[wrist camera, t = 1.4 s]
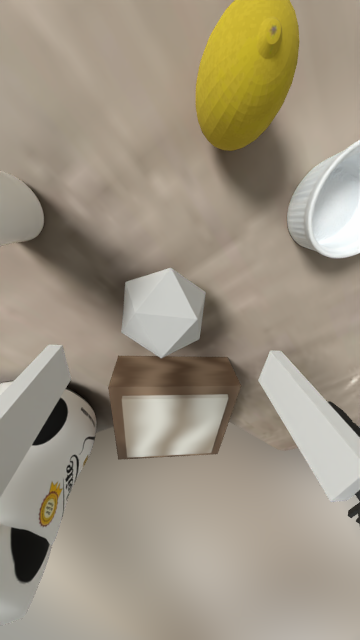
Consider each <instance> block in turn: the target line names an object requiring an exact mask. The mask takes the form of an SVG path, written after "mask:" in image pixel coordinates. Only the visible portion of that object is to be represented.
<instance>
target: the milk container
mask: <svg viewBox="0 0 360 640" xmlns="http://www.w3.org/2000/svg"><path fill="white" fill-rule="evenodd" d="M12 382H13V381H7V382H4V383H1V384H0V395H1V394H2V393H3V392H4V391H5V390H6V389H7V388H8V387H9V386H10V385H11V384H12ZM96 425H97V422H96V416H95V412H94V410H93V408H92V407H91V406H90V404H89V403H88V402H87V401H86V400H85V399H84V398H83V397H81V396H80V395H78V394H77V393H75V392H74V391H72V390H71V389H68V388H66V389H65V390H64V392H63V394H62V395H61V397H60V399H59V400H58V402H57V404H56V405H55V407H54V409H53V410H52V412H51V414H50V415H49V417H48V419H47V420H46V422H45V424H44V425H43V427H42V429H41V430H40V432H39V434H38V435H37V437H36V439H35V440H34V442H33V444H32V445H31V447H30V449H29V450H28V452H27V454H26V455H25V457H24V459H23V460H22V462H21V464H20V465H19V467H18V469H17V470H16V472H15V474H14V475H13V477H12V479H11V480H10V482H9V484H8V485H7V487H6V489H5V490H4V492H3V494H2V495H1V497H0V626H1V625H6V624H9V623H12V622H14V621H17V620H20V619H22V618H23V617H24V616H25V614H26V613H27V611H28V609H29V606H30V604H31V602H32V600H33V598H34V595H35V593H36V590H37V588H38V585H39V583H40V580H41V578H42V575H43V573H44V570H45V567H46V564H47V561H48V559H49V555H50V551H51V546H52V544H53V542H54V541H55V538H56V536H57V533H58V529H59V527H60V523H61V520H62V517H63V513H64V510H65V507H66V504H67V501H68V498H69V495H70V492H71V490H72V487H73V485H74V483H75V481H76V479H77V477H78V476H79V474H80V472H81V470H82V469H83V467H84V465H85V463H86V461H87V459H88V458H89V455H90V453H91V450H92V447H93V444H94V439H95V434H96Z"/></svg>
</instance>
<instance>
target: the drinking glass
mask: <svg viewBox="0 0 360 640" xmlns="http://www.w3.org/2000/svg"><path fill="white" fill-rule="evenodd" d="M43 225H44V214H43V210H42V207H41V204H40V202H39V200H38V198H37V197H36V195H35V194H34V193H33V191H32V190H31V189H30V188H29V187H28V186H27V185H26V184H25V183H24V182H22V181H21V180H20V179H18V178H17V177H15V176H13V175H11V174H9V173H7V172H4V171H1V170H0V247H1V246H5V245H8V244H12V243H17V242H24V241H29V240H31V239H33V238H35V237H36V236H38V235H39V234H40V232H41V230H42V228H43Z"/></svg>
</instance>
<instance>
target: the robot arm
mask: <svg viewBox="0 0 360 640" xmlns="http://www.w3.org/2000/svg"><path fill="white" fill-rule="evenodd" d="M70 380H71V376H70V372H69V368H68V364H67V361H66V357H65V353H64V349H63V346H62V345H48V346H47V347H46V348H45V349H44V350H43V351H42V352H41V353H40V354H39V355H38V356H37V357H36V358H35V359H34V360H33V362H32V363H31V364H30V365H29V366H28V367H27V368H26V369H25V370H24V371H23V372H22V373H21V374H20V375H19V376H18V377H17V378H16V379H15V380H14V381H13V382H12V384H11V385H10V386H9V387H8V388H7V389H6V390H5V391H4V392H3V393H2V394H1V395H0V497H1V495H2V494H3V492H4V490H5V489H6V487H7V485H8V484H9V482H10V480H11V479H12V477H13V475H14V474H15V472H16V470H17V469H18V467H19V465H20V464H21V462H22V460H23V459H24V457H25V455H26V454H27V452H28V450H29V449H30V447H31V445H32V444H33V442H34V440H35V439H36V437H37V435H38V434H39V432H40V430H41V429H42V427H43V425H44V424H45V422H46V420H47V419H48V417H49V415H50V414H51V412H52V410H53V409H54V407H55V405H56V404H57V402H58V400H59V399H60V397H61V395H62V394H63V392H64V390H65V389H66V387H67V385H68V384H69V382H70ZM258 381H259V382H260V384H261V386H262V387H263V389H264V391H265V392H266V394H267V396H268V397H269V399H270V401H271V402H272V404H273V406H274V408H275V409H276V411H277V413H278V414H279V416H280V418H281V419H282V421H283V423H284V424H285V426H286V428H287V429H288V431H289V433H290V434H291V436H292V438H293V440H294V441H295V443H296V445H297V446H298V448H299V450H300V451H301V453H302V455H303V456H304V458H305V460H306V461H307V463H308V465H309V466H310V468H311V470H312V471H313V473H314V475H315V477H316V478H317V480H318V482H319V483H320V485H321V486H322V488H323V490H324V491H325V493H326V495H327V497H328V498H329V500H330V502H335V501H347V500H348V499H350V498H351V497H352V496H354V495H356V496H357V498H358V499H359V501H360V428H359V427H358V426H357V425H356V424H355V423H353V422H352V420H351V419H350V418H349V417H348V416H347V415H346V413H345V412H344V411H343V410H341V409H340V408H339V407H337V406H336V405H335V404H333V403H332V402H327V401H326V400H325V399H324V398H323V397H322V396H321V394H320V393H319V392H318V391H317V390H316V389H315V388H314V387H313V386H312V385H311V383H310V382H309V381H308V380H307V379H306V378H305V377H304V376H303V375H302V374H301V372H300V371H299V370H298V369H297V368H296V367H295V366H294V365H293V364H292V363H291V361H290V360H289V359H288V358H287V357H286V356H285V355H284V354H283V353H282V351H270V353H269V355H268V358H267V360H266V363H265V365H264V368H263V370H262V372H261V375H260V377H259V380H258ZM356 514H358V516H359V518H357V520H356V522H358V523H359V524H360V502H359V503H358V504H357V505H355V506H354V507H353V508H351V509H350V510H349V511H348V516H349V517H350V518H352V517H353V516H355V515H356Z"/></svg>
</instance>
